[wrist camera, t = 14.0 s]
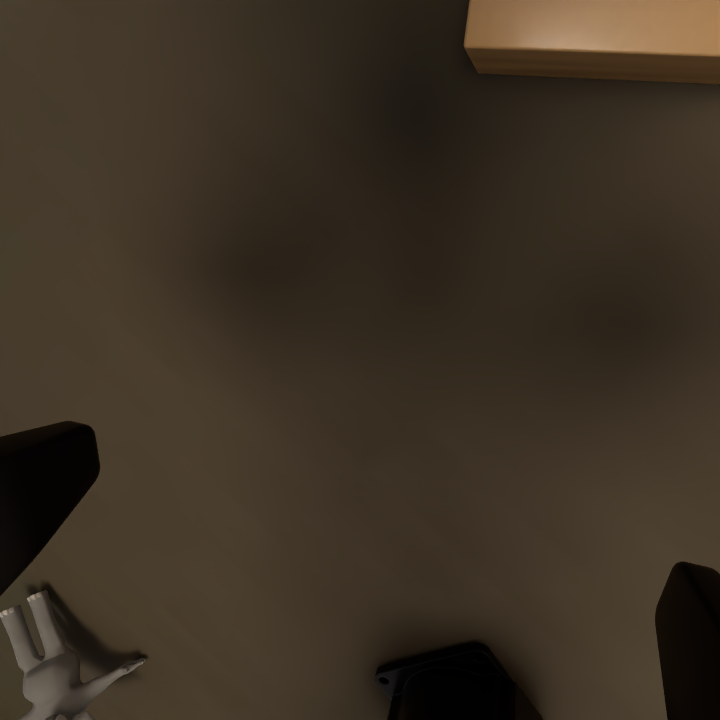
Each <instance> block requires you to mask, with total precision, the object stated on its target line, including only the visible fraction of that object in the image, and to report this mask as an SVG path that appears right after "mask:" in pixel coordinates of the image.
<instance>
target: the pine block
mask: <svg viewBox="0 0 720 720" xmlns="http://www.w3.org/2000/svg"><path fill="white" fill-rule="evenodd" d="M464 48H465V50H466V52H467V54H468V56H469V58H470V59H471V61H472V63H473V65H474V67H475V69H476V70H477V72H478V73H479V74H502V75H524V76H546V77H568V78H591V79H613V80H635V81H657V82H680V83H702V84H720V0H469V6H468V14H467V22H466V30H465V38H464Z"/></svg>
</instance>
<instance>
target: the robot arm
mask: <svg viewBox="0 0 720 720" xmlns="http://www.w3.org/2000/svg"><path fill="white" fill-rule="evenodd" d="M99 471H100V462H99V455H98V449H97V443H96V437H95V432H94V430H93V429H92V427H90V426H89V425H86V424H81V423H77V422H72V421H64V422H60V423H56V424H52V425H47V426H43V427H39V428H35V429H31V430H27V431H22V432H18V433H14V434H10V435H6V436H2V437H0V596H1V595H2V594H3V593H4V592H5V590H6V589H7V588H8V587H9V586H10V585H11V584H12V583H13V582H14V581H15V580H16V579H17V577H18V576H19V575H20V574H21V573H22V572H23V571H24V570H25V569H26V568H27V567H28V565H29V564H30V563H31V562H32V561H33V560H34V559H35V558H36V556H37V555H38V554H39V553H40V552H41V550H42V549H43V548H44V547H45V545H46V544H47V543H48V542H49V540H50V539H51V538H52V536H53V535H54V534H55V533H56V531H57V530H58V529H59V527H60V526H61V525H62V524H63V522H64V521H65V520H66V518H67V517H68V516H69V515H70V513H71V512H72V511H73V509H74V508H75V507H76V506H77V504H78V503H79V502H80V500H81V499H82V498H83V496H84V495H85V494H86V493H87V491H88V490H89V489H90V487H91V486H92V485H93V484H94V482H95V481H96V479H97V477H98V475H99ZM655 626H656V634H657V641H658V649H659V657H660V665H661V672H662V680H663V688H664V695H665V703H666V711H667V719H668V720H720V574H719V573H718V572H717V571H716V570H714V569H712V568H709V567H705V566H701V565H696V564H692V563H688V562H678V563H676V564H675V565H674V567H673V568H672V570H671V572H670V575H669V577H668V580H667V582H666V585H665V587H664V590H663V592H662V594H661V597H660V599H659V602H658V604H657V608H656V614H655ZM375 681H376V683H377V684H378V685H379V686H380V688H381V689H382V690H383V691H384V693H385V694H386V695H387V696H388V697H389V699H390V700H391V705H390V709H389V714H388V718H387V720H542V718H541V716H540V714H539V713H538V712H537V710H536V709H535V708H534V706H533V705H532V704H531V702H530V701H529V700H528V698H527V697H526V696H525V694H524V693H523V692H522V690H521V689H520V688H519V686H518V685H517V684H516V683H515V682H514V681H513V680H512V679H511V678H510V676H509V675H508V674H507V672H506V671H505V670H504V668H503V667H502V666H501V664H500V663H499V662H498V660H497V659H496V657H495V656H494V655H493V653H492V652H491V651H490V649H489V648H488V647H487V646H485V645H483V644H480V643H473V644H469V645H465V646H461V647H457V648H453V649H449V650H445V651H441V652H437V653H433V654H429V655H425V656H421V657H417V658H413V659H409V660H405V661H401V662H397V663H393V664H389V665H385V666H381V667H379V668H377V670H376V674H375Z"/></svg>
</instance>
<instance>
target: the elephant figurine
mask: <svg viewBox="0 0 720 720" xmlns="http://www.w3.org/2000/svg"><path fill="white" fill-rule="evenodd" d="M27 600H28V602H29V605H30V607H31V610H32V613H33V616H34V619H35V622H36V625H37V628H38V631H39V634H40V637H41V640H42V643H43V647H44V650H45V656H39V655H38V652H37V649H36V647H35V645H34V643H33V640H32V638H31V635H30V632H29V629H28V627H27V624H26V621H25V618H24V615H23V612H22V609H21V606H20V605H17V606H15V607H12V608H10V609H8V610H4V611H3V612H2V613H0V617H1V620H2V622H3V624H4V626H5V628H6V630H7V633H8V635H9V638H10V640H11V643H12V646H13V649H14V652H15V656H16V659H17V662H18V666H19V667H20V668H21V669H22V670H23V671H24V679H23V694H24V697H25V698H26V699H28V700H29V701H31V702H32V703H33V708H32V710H31V711H29V712H28V713H26V714H25V715H23V716H22V717H21V718H19V719H18V720H95V719H94V718H93V717H92V715H91V714H90V713H89V712H88V711H86V712H85V713H80V712H82V711H84V710H85V709H86V708H87V706H88V705H89V704H90V702H91V701H92V700H93V699H94V698H95V697H96V696H97V695H99V694H100V693H101V692H102V691H104V690H105V689H106V688H107V687H108V686H109V685H110V684H111V683H113V682H114V681H115V680H116V679H118V678H119V677H121V676H122V675H124V674H128V673H129V672H131V671H133V670H134V669H135V668H136V667H137V666H139V665H140V664H143V663H144V662H145V658H141V659H139V660H136V661H130V662H128V663H126V664H124V665H122V666H120V667H119V668H117V669H116V670H114V671H112V672H110V673H107V674H105V675H102V676H99V677H96V678H94V679H93V680H91V681H89V682H87V683H82V682H81V680H80V660H79V656H78V654H77V653H76V652H75V651H73V650H71V649H70V648H68V647H67V646H66V645H65V642H64V639H63V636H62V634H61V632H60V630H59V627H58V625H57V622H56V620H55V617H54V614H53V610H52V606H51V602H50V598H49V595H48V592H47V590H44V591H41V592H39V593H37V594H34V595H31V596H30V597H28V598H27ZM79 713H80V714H79Z"/></svg>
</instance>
